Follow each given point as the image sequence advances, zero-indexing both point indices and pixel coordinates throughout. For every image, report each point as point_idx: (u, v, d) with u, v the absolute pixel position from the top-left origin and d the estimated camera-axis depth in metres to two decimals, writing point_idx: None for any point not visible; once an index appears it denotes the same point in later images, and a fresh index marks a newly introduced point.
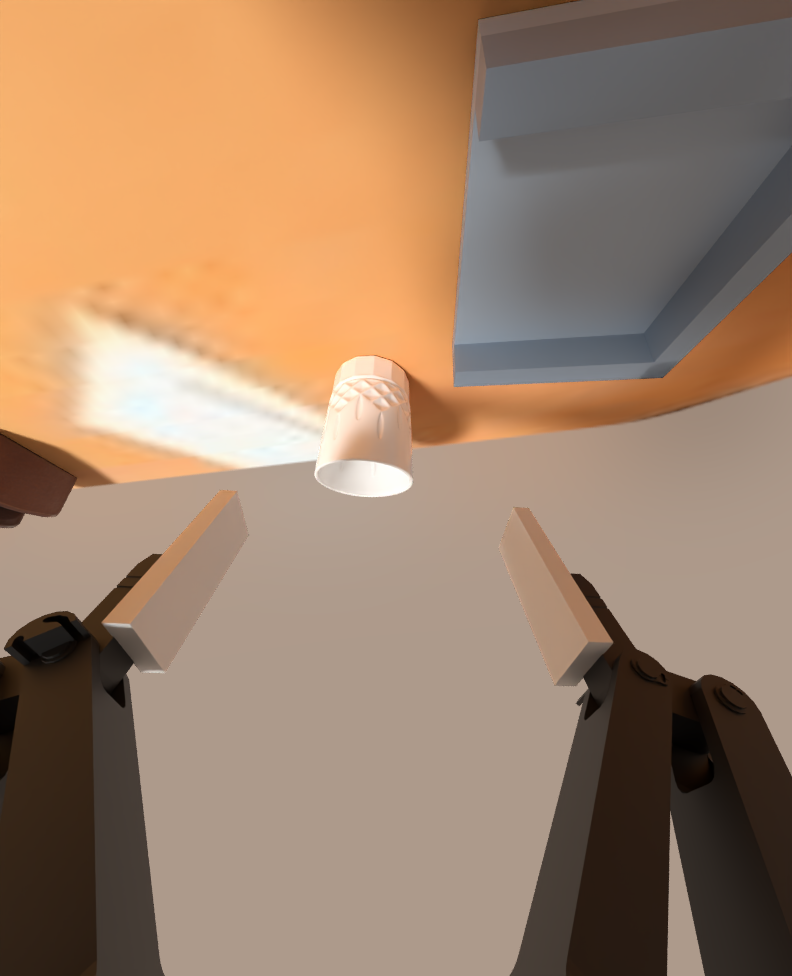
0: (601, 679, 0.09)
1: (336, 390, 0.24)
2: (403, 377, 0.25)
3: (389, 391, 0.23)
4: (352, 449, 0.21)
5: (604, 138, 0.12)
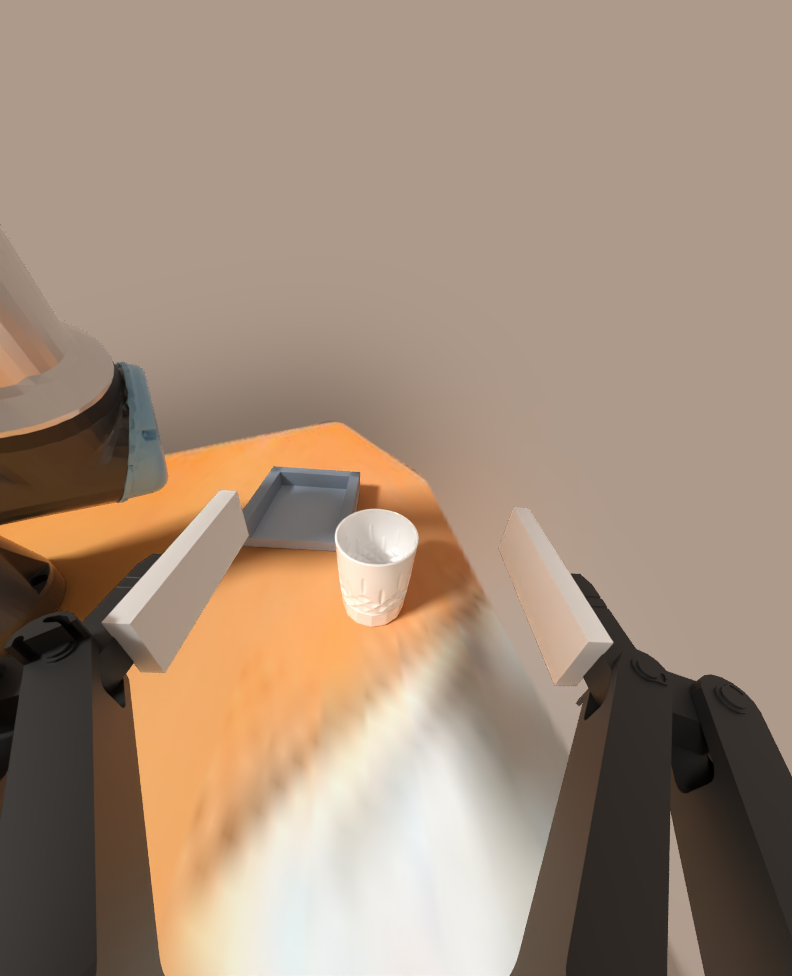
0: (601, 679, 0.09)
1: (347, 600, 0.30)
2: None
3: None
4: None
5: (275, 513, 0.42)
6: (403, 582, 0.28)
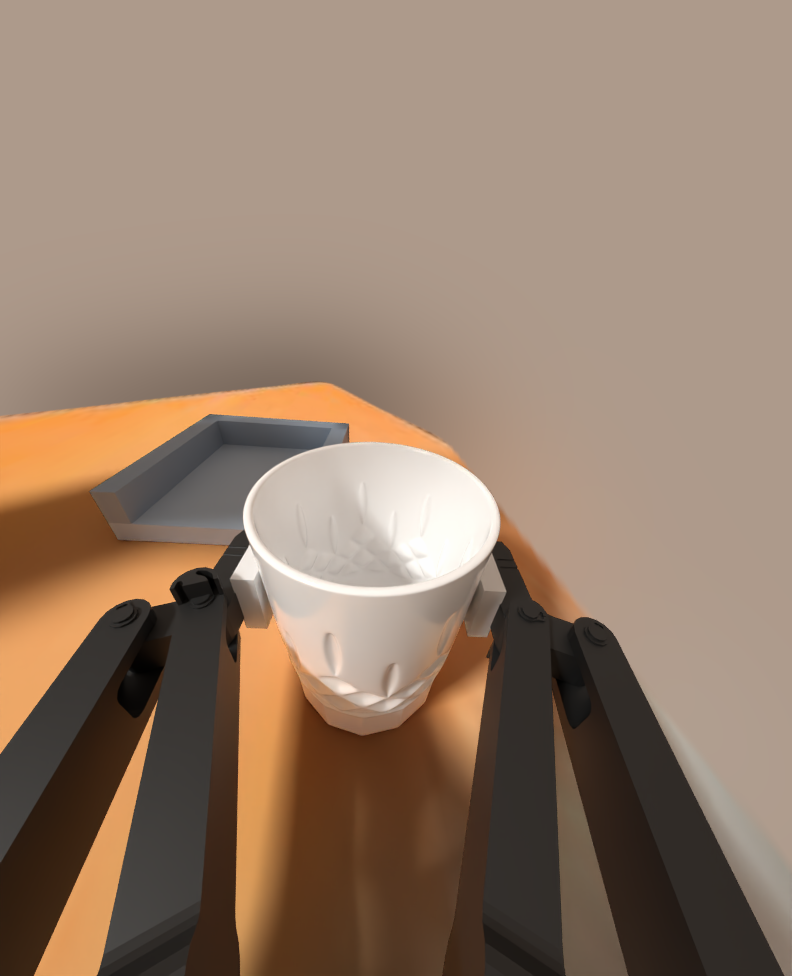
0: (499, 631, 0.10)
1: None
2: None
3: None
4: None
5: (196, 483, 0.24)
6: (454, 633, 0.09)
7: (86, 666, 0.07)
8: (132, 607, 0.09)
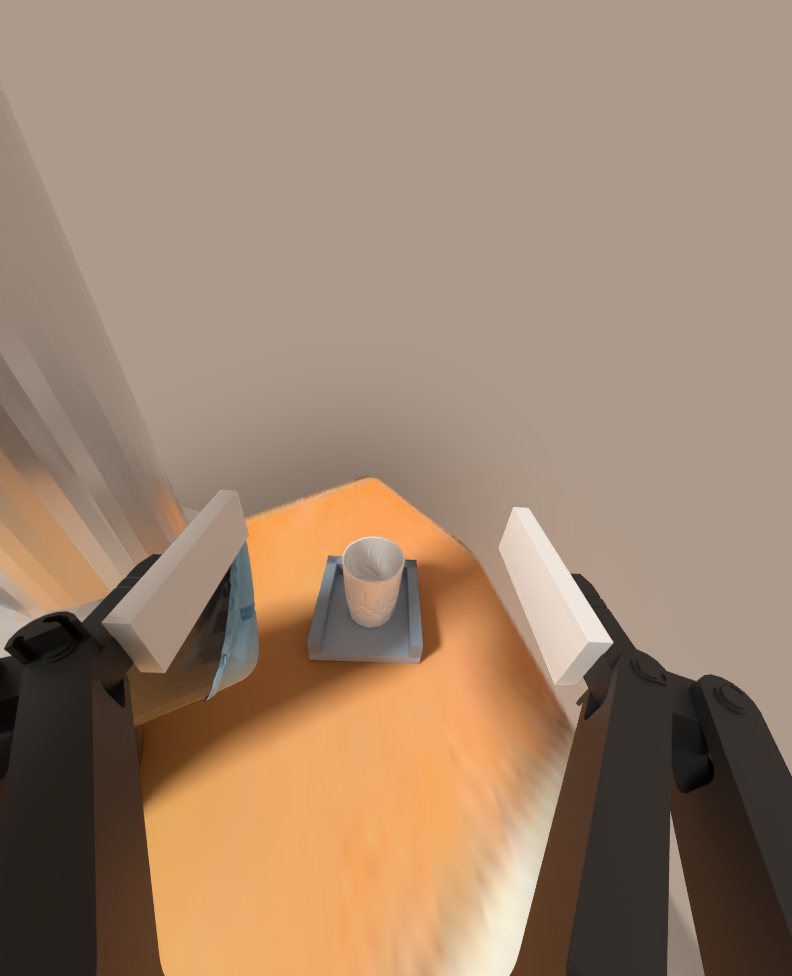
0: (601, 679, 0.09)
1: (351, 607, 0.39)
2: None
3: None
4: None
5: (338, 616, 0.41)
6: (393, 594, 0.37)
7: None
8: None
